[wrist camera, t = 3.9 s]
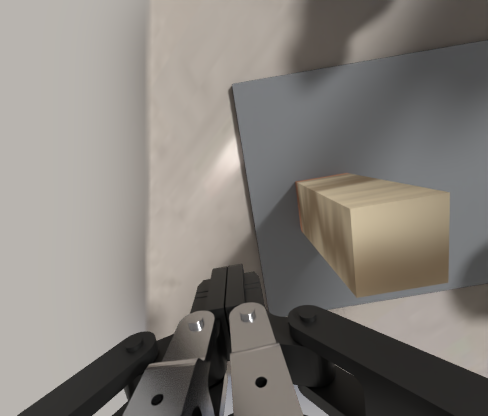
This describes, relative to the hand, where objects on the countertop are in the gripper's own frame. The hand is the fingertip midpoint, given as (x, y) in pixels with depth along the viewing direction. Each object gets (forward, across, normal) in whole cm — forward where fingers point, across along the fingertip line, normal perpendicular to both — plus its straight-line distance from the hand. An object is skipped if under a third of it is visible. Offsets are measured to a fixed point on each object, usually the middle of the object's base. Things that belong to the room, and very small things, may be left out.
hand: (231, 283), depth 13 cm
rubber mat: (+13, -14, 0) cm, 19 cm away
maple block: (+12, -9, 0) cm, 15 cm away
